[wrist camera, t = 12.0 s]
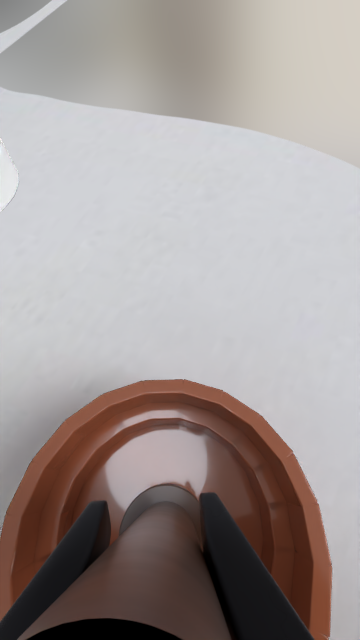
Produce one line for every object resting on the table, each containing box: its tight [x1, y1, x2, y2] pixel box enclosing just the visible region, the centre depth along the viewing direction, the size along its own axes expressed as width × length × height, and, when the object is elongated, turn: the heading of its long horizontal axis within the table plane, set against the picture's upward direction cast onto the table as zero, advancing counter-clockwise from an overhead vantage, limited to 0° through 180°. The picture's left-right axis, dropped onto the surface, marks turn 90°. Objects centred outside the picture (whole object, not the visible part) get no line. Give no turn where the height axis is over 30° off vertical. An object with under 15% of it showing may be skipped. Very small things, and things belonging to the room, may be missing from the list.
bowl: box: [0, 379, 332, 640], centre depth 13 cm, size 12×12×4 cm
